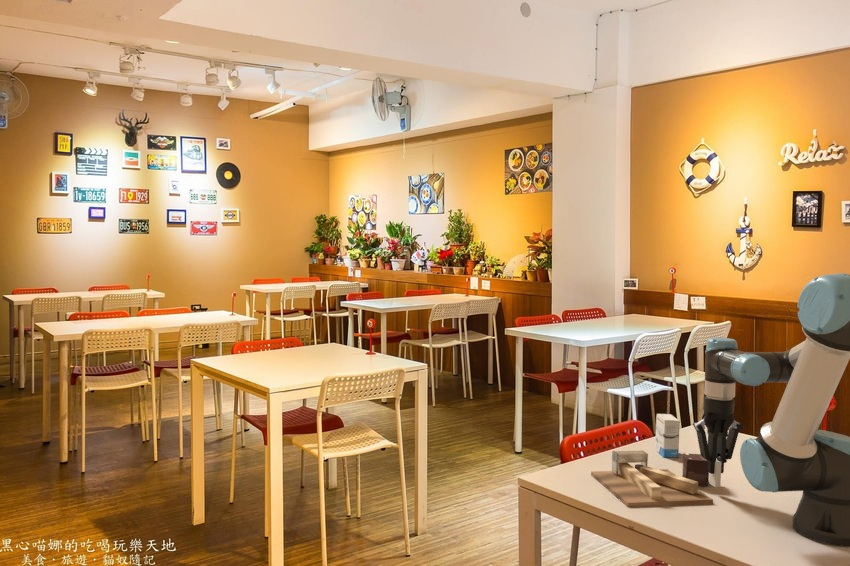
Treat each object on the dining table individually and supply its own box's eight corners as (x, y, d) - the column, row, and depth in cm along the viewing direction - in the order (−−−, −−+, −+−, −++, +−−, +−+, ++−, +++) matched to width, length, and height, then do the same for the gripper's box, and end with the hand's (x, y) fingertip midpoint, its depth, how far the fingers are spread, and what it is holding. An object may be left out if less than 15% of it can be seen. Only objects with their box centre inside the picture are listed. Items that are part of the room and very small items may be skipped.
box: (708, 487, 192) (710, 460, 192) (685, 485, 193) (686, 459, 193) (704, 480, 198) (705, 454, 198) (681, 478, 199) (682, 452, 199)
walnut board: (713, 503, 180) (713, 499, 180) (627, 506, 176) (627, 502, 176) (667, 472, 204) (667, 469, 204) (591, 475, 200) (591, 471, 200)
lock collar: (647, 473, 198) (647, 453, 198) (616, 474, 197) (616, 454, 197) (642, 470, 201) (643, 450, 201) (611, 471, 200) (612, 451, 200)
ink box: (678, 458, 218) (680, 420, 217) (663, 457, 218) (664, 420, 217) (669, 449, 227) (671, 413, 226) (654, 449, 227) (655, 413, 226)
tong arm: (632, 474, 197) (633, 465, 197) (638, 473, 199) (638, 463, 198) (692, 493, 183) (693, 483, 183) (697, 492, 184) (698, 481, 184)
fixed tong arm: (660, 498, 180) (661, 487, 180) (651, 499, 179) (651, 487, 179) (624, 471, 201) (624, 460, 201) (616, 471, 201) (616, 461, 200)
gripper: (733, 393, 189) (729, 479, 191) (688, 394, 188) (684, 481, 189) (750, 399, 182) (746, 489, 184) (703, 400, 180) (699, 491, 182)
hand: (714, 485), depth 186 cm, fingers closed
